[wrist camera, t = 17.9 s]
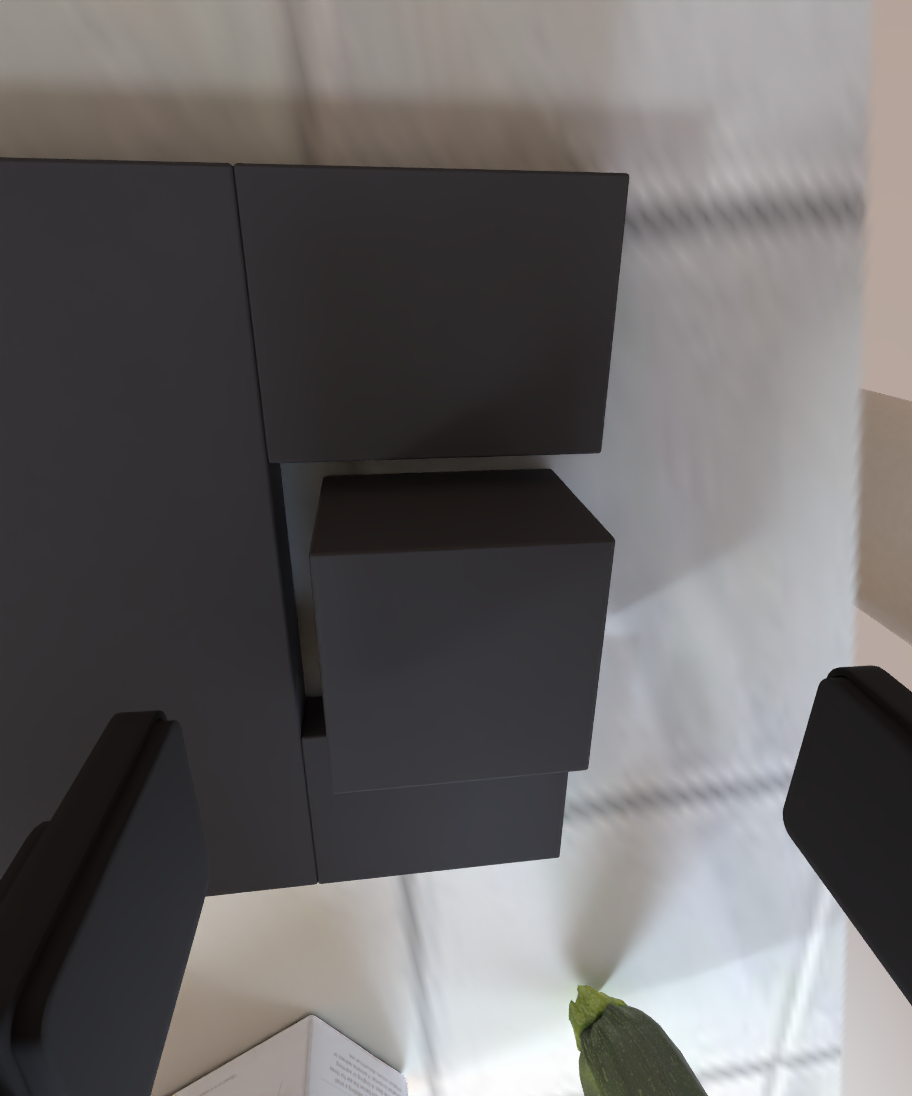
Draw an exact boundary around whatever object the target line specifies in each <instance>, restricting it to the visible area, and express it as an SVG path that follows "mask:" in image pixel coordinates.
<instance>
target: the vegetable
mask: <svg viewBox="0 0 912 1096" xmlns="http://www.w3.org/2000/svg"><path fill="white" fill-rule="evenodd" d="M577 990H578V997H577V1000H576V1003H574V1002H573V1001H572V1000H571V1002H570V1005H569V1020H570V1022H571V1024H572V1026H573V1030H574V1034H575V1038H576V1044H577V1048H578V1050H579V1051H580V1052H581V1053H580V1058H579V1073H580V1080H581V1084H582V1088H583V1092H584V1096H708V1095H707V1094H706V1092H705V1090H704V1089H703V1087H702V1086H701V1084H700V1082H699V1081H698V1079H697V1077H696V1076H695V1074H694V1073H693V1071H692V1069H691V1068H690V1066H689V1064H688V1063H687V1061H686V1060H685V1058H684V1056H683V1055H682V1053H681V1051H680V1050H679V1049H678V1048H677V1047H676V1045H675V1044H674V1043H673V1042H672V1040H671V1039H670V1038H669V1037H668V1035H667V1034H666V1033H665V1031H664V1030H663V1029H662V1028H661V1026H660V1025H659V1024H658V1023H656V1022H655V1021H654V1020H653V1019H652V1018H651V1017H649V1016H648V1015H647V1014H645V1013H644V1012H642V1011H640V1010H638V1009H636V1008H633V1007H630V1006H627V1005H626V1004H625V1003H624V1001H622V1000H620V999H615V998H613V997H609V996H607V995H606V994H604V993H602V992H598V991H597V990H595V989H594V988H592V987H590V986H579V985H578V988H577Z"/></svg>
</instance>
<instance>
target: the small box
mask: <svg viewBox="0 0 912 1096" xmlns="http://www.w3.org/2000/svg"><path fill="white" fill-rule="evenodd" d="M172 1096H408V1088H407V1082H406V1078H405V1077H404V1075H402V1074H401V1073H399V1072H398V1071H396V1070H395V1069H393V1068H392V1067H390V1066H388V1065H387V1064H385V1063H384V1062H382V1061H381V1060H379V1059H378V1058H376V1057H375V1056H373V1055H372V1054H370V1053H369V1052H367V1051H366V1050H364V1049H363V1048H362V1047H360V1046H359V1045H357V1044H356V1043H354V1042H353V1041H351V1040H350V1039H348V1038H347V1037H346V1036H344V1035H343V1034H341V1033H340V1032H338V1031H337V1030H335V1029H334V1028H332V1027H331V1026H330V1025H328V1024H327V1023H325V1022H324V1021H322V1020H321V1019H319V1018H317V1017H316V1016H314V1015H309V1016H307V1017H306V1018H304V1019H302V1020H301V1021H299V1022H297V1023H296V1024H294V1025H292V1026H290V1027H289V1028H287V1029H285V1030H283V1031H282V1032H280V1033H278V1034H276V1035H275V1036H273V1037H272V1038H270V1039H268V1040H266V1041H264V1042H263V1043H261V1044H259V1045H257V1046H256V1047H254V1048H252V1049H251V1050H249V1051H247V1052H245V1053H244V1054H242V1055H240V1056H239V1057H237V1058H235V1059H233V1060H232V1061H230V1062H228V1063H227V1064H225V1065H223V1066H221V1067H220V1068H218V1069H216V1070H215V1071H213V1072H211V1073H209V1074H208V1075H206V1076H204V1077H202V1078H201V1079H199V1080H197V1081H196V1082H194V1083H192V1084H190V1085H189V1086H187V1087H185V1088H184V1089H182V1090H180V1091H178V1092H177V1093H175V1094H173V1095H172Z"/></svg>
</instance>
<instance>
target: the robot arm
mask: <svg viewBox="0 0 912 1096" xmlns="http://www.w3.org/2000/svg"><path fill="white" fill-rule="evenodd" d="M783 821H784V825H785V828H786V830H787V832H788V834H789V836H790V837H791V839H792V840H793V841H794V843H795V844H796V846H797V847H798V848H799V850H800V851H801V853H802V854H803V855H804V857H805V858H806V860H807V861H808V862H809V864H810V865H811V866H812V868H813V869H814V871H815V872H816V873H817V875H818V876H819V878H820V879H821V880H822V882H823V883H824V885H825V886H826V887H827V889H828V890H829V891H830V893H831V894H832V896H833V897H834V898H835V900H836V901H837V903H838V904H839V905H840V907H841V908H842V910H843V911H844V912H845V914H846V915H847V916H848V918H849V919H850V921H851V922H852V923H853V925H854V926H855V927H856V929H857V930H858V931H859V933H860V934H861V936H862V937H863V939H864V940H865V941H866V943H867V944H868V946H869V947H870V948H871V950H872V951H873V952H874V954H875V955H876V957H877V958H878V959H879V961H880V962H881V964H882V965H883V966H884V968H885V969H886V971H887V972H888V973H889V975H890V976H891V978H892V979H893V980H894V982H895V983H896V984H897V986H898V987H899V989H900V990H901V991H902V993H903V994H904V996H905V997H906V998H907V1000H908V1001H909V1003H910V1004H911V1005H912V692H911V691H910V690H909V689H907V688H906V687H905V686H904V685H902V684H901V683H900V682H898V681H897V680H896V679H895V678H894V677H892V676H891V675H890V674H889V673H887V672H886V671H885V670H883V669H881V668H880V667H877V666H855V667H839V668H836V669H833V670H832V671H831V672H830V673H829V674H828V676H827V678H826V679H823V680H822V681H821V682H820V684H819V686H818V690H817V693H816V697H815V700H814V704H813V707H812V711H811V714H810V717H809V721H808V724H807V728H806V731H805V735H804V738H803V742H802V745H801V749H800V752H799V756H798V759H797V763H796V766H795V770H794V773H793V777H792V780H791V784H790V787H789V791H788V794H787V798H786V801H785V805H784V808H783ZM209 875H210V862H209V856H208V851H207V846H206V842H205V837H204V832H203V828H202V823H201V818H200V813H199V809H198V804H197V799H196V795H195V790H194V785H193V780H192V776H191V771H190V766H189V762H188V757H187V752H186V747H185V743H184V738H183V733H182V729H181V725H180V723H179V722H178V721H177V720H169V721H168V720H167V717H166V715H165V713H164V712H163V711H161V710H154V711H138V712H122V713H117V714H115V715H114V716H113V717H112V718H111V720H110V721H109V723H108V724H107V726H106V728H105V730H104V731H103V733H102V735H101V736H100V738H99V740H98V741H97V743H96V745H95V746H94V748H93V750H92V751H91V753H90V755H89V756H88V758H87V760H86V761H85V763H84V765H83V767H82V768H81V770H80V772H79V773H78V775H77V777H76V778H75V780H74V782H73V783H72V785H71V787H70V788H69V790H68V792H67V793H66V795H65V797H64V799H63V800H62V802H61V804H60V805H59V807H58V809H57V810H56V812H55V814H54V815H53V817H52V819H51V820H50V821H45V822H42V823H41V824H39V825H38V826H36V827H35V828H34V829H33V831H32V832H31V833H30V834H29V836H28V837H27V838H26V840H25V841H24V843H23V844H22V846H21V848H20V849H19V851H18V853H17V854H16V856H15V857H14V859H13V861H12V862H11V864H10V866H9V867H8V869H7V870H6V872H5V874H4V875H3V877H2V878H1V880H0V1096H150V1095H151V1091H152V1087H153V1084H154V1080H155V1077H156V1073H157V1069H158V1066H159V1062H160V1059H161V1055H162V1051H163V1048H164V1044H165V1040H166V1037H167V1033H168V1030H169V1026H170V1022H171V1019H172V1015H173V1012H174V1008H175V1004H176V1001H177V997H178V993H179V990H180V986H181V983H182V979H183V975H184V972H185V968H186V965H187V961H188V957H189V954H190V950H191V946H192V943H193V939H194V936H195V932H196V928H197V925H198V921H199V918H200V914H201V910H202V907H203V903H204V899H205V896H206V892H207V888H208V883H209Z"/></svg>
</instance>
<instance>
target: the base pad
mask: <svg viewBox="0 0 912 1096" xmlns="http://www.w3.org/2000/svg"><path fill="white" fill-rule="evenodd" d="M628 185H629V174H627V173H599V172H560V171H521V170H481V169H442V168H403V167H363V166H324V165H284V164H245V163H237V164H235V165H234V166H233V165H231V164H229V163H201V162H162V161H122V160H83V159H44V158H4V157H0V880H1V878H2V877H3V875H4V874H5V872H6V870H7V869H8V867H9V866H10V864H11V862H12V861H13V859H14V857H15V856H16V854H17V853H18V851H19V849H20V848H21V846H22V844H23V843H24V841H25V840H26V838H27V837H28V836H29V834H30V833H31V832H32V831H33V829H34V828H35V827H36V826H38V825H39V824H41V823H42V822H45V821H50V820H51V819H52V817H53V815H54V814H55V812H56V810H57V809H58V807H59V805H60V804H61V802H62V800H63V799H64V797H65V795H66V793H67V792H68V790H69V788H70V787H71V785H72V783H73V782H74V780H75V778H76V777H77V775H78V773H79V772H80V770H81V768H82V767H83V765H84V763H85V761H86V760H87V758H88V756H89V755H90V753H91V751H92V750H93V748H94V746H95V745H96V743H97V741H98V740H99V738H100V736H101V735H102V733H103V731H104V730H105V728H106V726H107V724H108V723H109V721H110V720H111V718H112V717H113V716H114V715H115V714H117V713H122V712H138V711H154V710H161V711H163V712H164V713H165V715H166V717H167V720H168V721H169V720H177V721H178V722H179V723H180V725H181V729H182V733H183V738H184V743H185V747H186V752H187V757H188V762H189V766H190V771H191V776H192V780H193V785H194V790H195V795H196V799H197V804H198V809H199V813H200V818H201V823H202V828H203V832H204V837H205V842H206V846H207V851H208V856H209V862H210V875H209V883H208V888H207V892H206V896H215V895H224V894H233V893H242V892H251V891H260V890H269V889H278V888H287V887H296V886H305V885H314V884H317V883H318V882H319V884H324V883H333V882H342V881H351V880H360V879H369V878H378V877H387V876H396V875H405V874H414V873H423V872H432V871H441V870H450V869H459V868H468V867H477V866H486V865H495V864H504V863H513V862H522V861H531V860H540V859H549V858H558V857H559V855H560V846H561V836H562V826H563V816H564V807H565V797H566V787H567V778H568V772H559V773H549V774H538V775H528V776H517V777H507V778H497V779H486V780H476V781H465V782H455V783H444V784H434V785H423V786H413V787H402V788H392V789H381V790H371V791H360V792H350V793H339V794H334V793H333V791H332V787H331V777H330V767H329V757H328V746H327V736H326V726H325V716H324V705H323V697H312V698H307V700H306V695H305V686H304V677H303V668H302V659H301V650H300V641H299V632H298V623H297V614H296V605H295V596H294V587H293V578H292V569H291V560H290V551H289V542H288V533H287V524H286V515H285V506H284V497H283V488H282V479H281V470H280V463H300V462H333V461H365V460H397V459H429V458H462V457H494V456H526V455H558V454H591V453H600V452H601V447H602V438H603V428H604V418H605V408H606V399H607V389H608V379H609V370H610V360H611V350H612V340H613V331H614V321H615V311H616V301H617V292H618V282H619V272H620V263H621V253H622V243H623V233H624V224H625V214H626V204H627V195H628ZM206 896H205V897H206Z"/></svg>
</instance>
